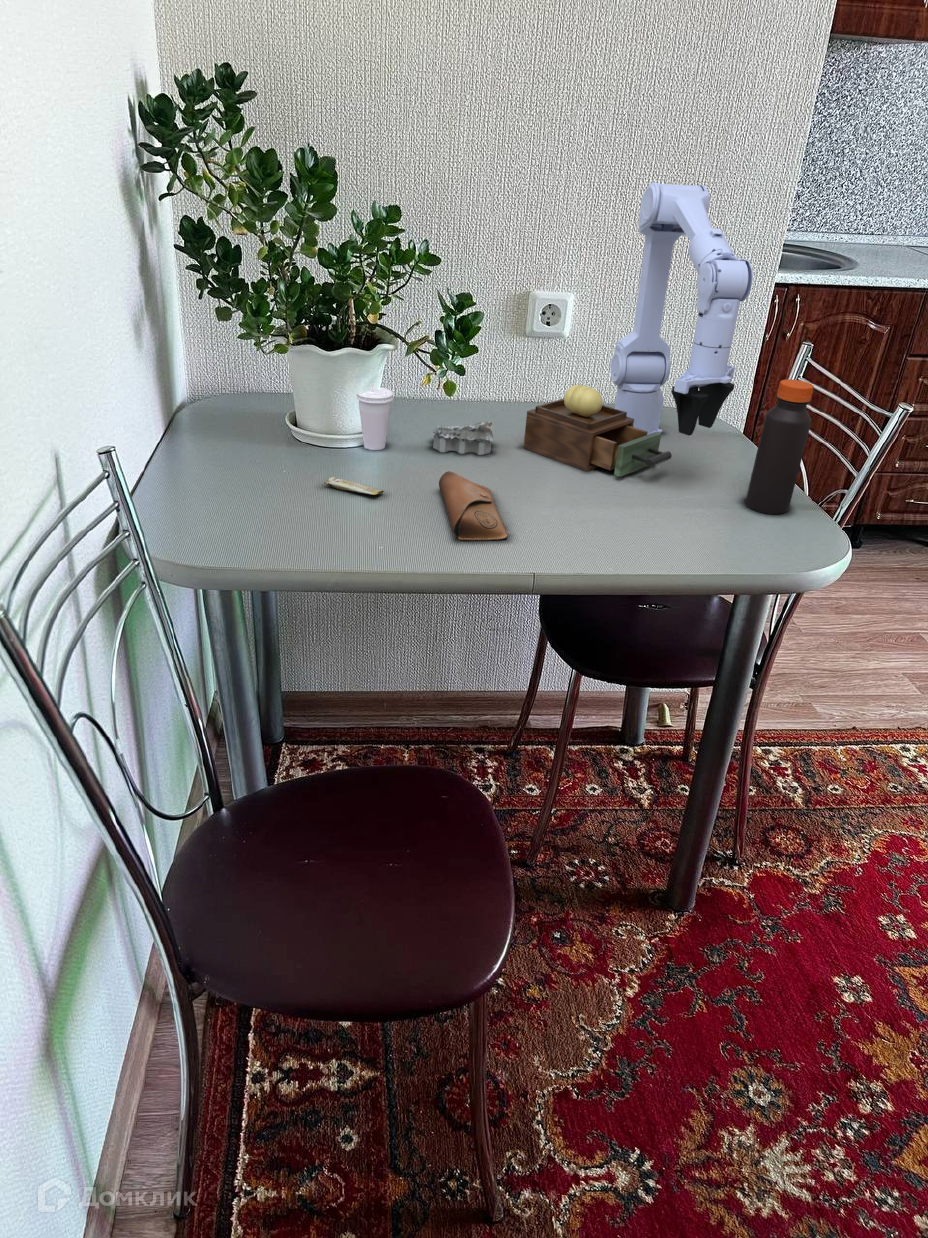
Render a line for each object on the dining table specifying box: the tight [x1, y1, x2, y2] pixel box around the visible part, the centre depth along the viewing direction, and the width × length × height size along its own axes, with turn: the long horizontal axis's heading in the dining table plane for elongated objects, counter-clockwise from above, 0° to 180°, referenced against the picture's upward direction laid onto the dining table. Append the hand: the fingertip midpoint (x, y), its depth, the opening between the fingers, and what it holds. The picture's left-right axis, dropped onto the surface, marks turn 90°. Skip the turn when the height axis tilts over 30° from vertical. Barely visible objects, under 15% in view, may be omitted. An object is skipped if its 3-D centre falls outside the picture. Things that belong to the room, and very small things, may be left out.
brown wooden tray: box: [534, 397, 627, 430], centre depth 158 cm, size 11×12×1 cm
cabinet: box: [523, 405, 634, 472], centre depth 160 cm, size 14×12×7 cm
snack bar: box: [322, 476, 385, 496], centre depth 140 cm, size 10×2×3 cm
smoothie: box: [356, 382, 394, 451], centre depth 155 cm, size 6×6×14 cm
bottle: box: [745, 378, 815, 515], centre depth 140 cm, size 7×7×20 cm
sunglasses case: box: [438, 470, 509, 542], centre depth 135 cm, size 18×7×7 cm, turn 9°
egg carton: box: [432, 421, 494, 456], centre depth 160 cm, size 11×8×4 cm
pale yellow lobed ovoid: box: [563, 384, 604, 417], centre depth 157 cm, size 5×7×5 cm
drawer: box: [591, 425, 673, 478], centre depth 155 cm, size 18×11×5 cm, turn 46°
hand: (695, 429), depth 144 cm, fingers open, 5 cm apart
